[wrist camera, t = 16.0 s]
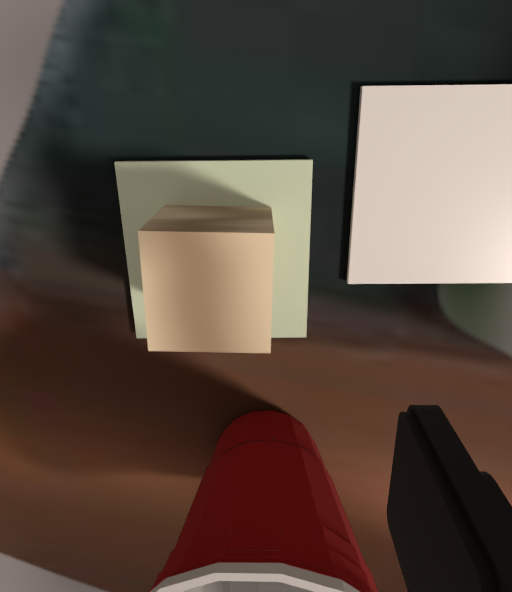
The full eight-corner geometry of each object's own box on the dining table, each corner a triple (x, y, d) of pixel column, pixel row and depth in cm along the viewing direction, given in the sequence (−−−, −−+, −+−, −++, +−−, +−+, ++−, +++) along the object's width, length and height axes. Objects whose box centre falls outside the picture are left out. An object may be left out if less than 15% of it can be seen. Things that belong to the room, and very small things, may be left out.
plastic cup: (144, 398, 25) (55, 618, 14) (328, 350, 24) (386, 551, 13) (207, 529, 29) (175, 782, 18) (368, 494, 28) (439, 743, 17)
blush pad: (569, 84, 19) (575, 83, 19) (523, 280, 22) (528, 282, 22) (360, 86, 19) (362, 86, 19) (346, 281, 23) (347, 283, 22)
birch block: (271, 207, 21) (274, 233, 16) (268, 304, 23) (270, 353, 18) (165, 205, 21) (137, 230, 16) (170, 302, 23) (148, 351, 18)
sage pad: (311, 159, 20) (312, 160, 20) (305, 333, 24) (306, 337, 23) (116, 161, 20) (114, 162, 20) (138, 334, 24) (136, 338, 23)
